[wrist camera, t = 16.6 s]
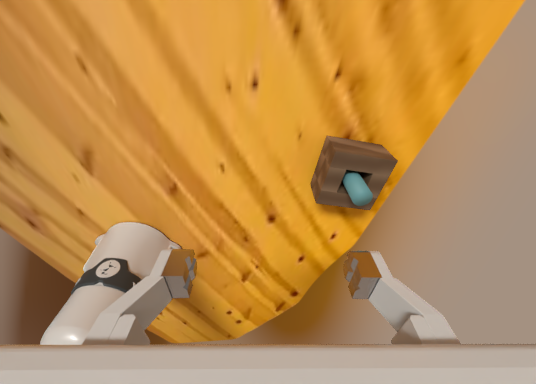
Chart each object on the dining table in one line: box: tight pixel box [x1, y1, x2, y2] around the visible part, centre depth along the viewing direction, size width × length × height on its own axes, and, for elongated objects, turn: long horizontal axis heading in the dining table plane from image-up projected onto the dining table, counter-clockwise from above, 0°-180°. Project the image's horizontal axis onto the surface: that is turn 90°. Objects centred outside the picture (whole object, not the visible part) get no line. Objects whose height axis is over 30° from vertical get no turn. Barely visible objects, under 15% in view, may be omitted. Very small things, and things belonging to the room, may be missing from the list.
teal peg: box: [342, 170, 373, 206], centre depth 38 cm, size 3×3×10 cm
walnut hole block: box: [311, 136, 398, 210], centre depth 40 cm, size 10×10×6 cm
